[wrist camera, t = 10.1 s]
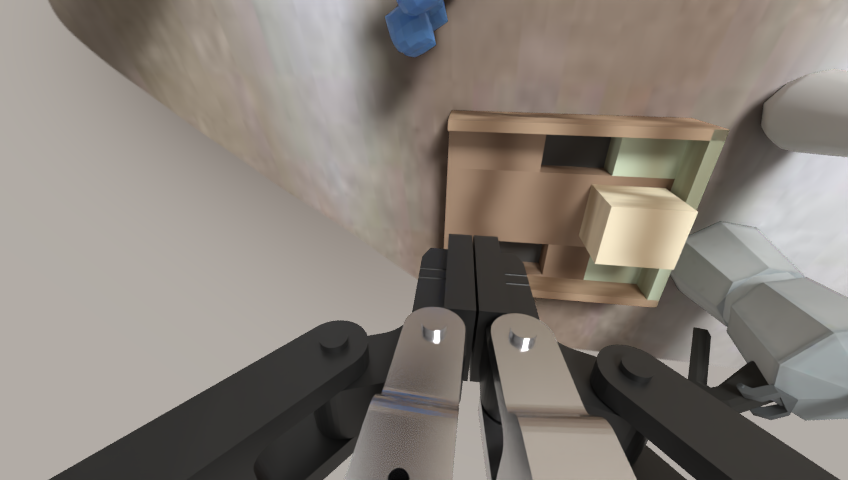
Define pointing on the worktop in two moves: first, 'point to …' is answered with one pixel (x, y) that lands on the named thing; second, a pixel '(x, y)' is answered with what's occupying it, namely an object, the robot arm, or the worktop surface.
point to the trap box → (568, 189)
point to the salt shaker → (810, 114)
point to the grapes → (415, 25)
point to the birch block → (635, 226)
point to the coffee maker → (766, 325)
